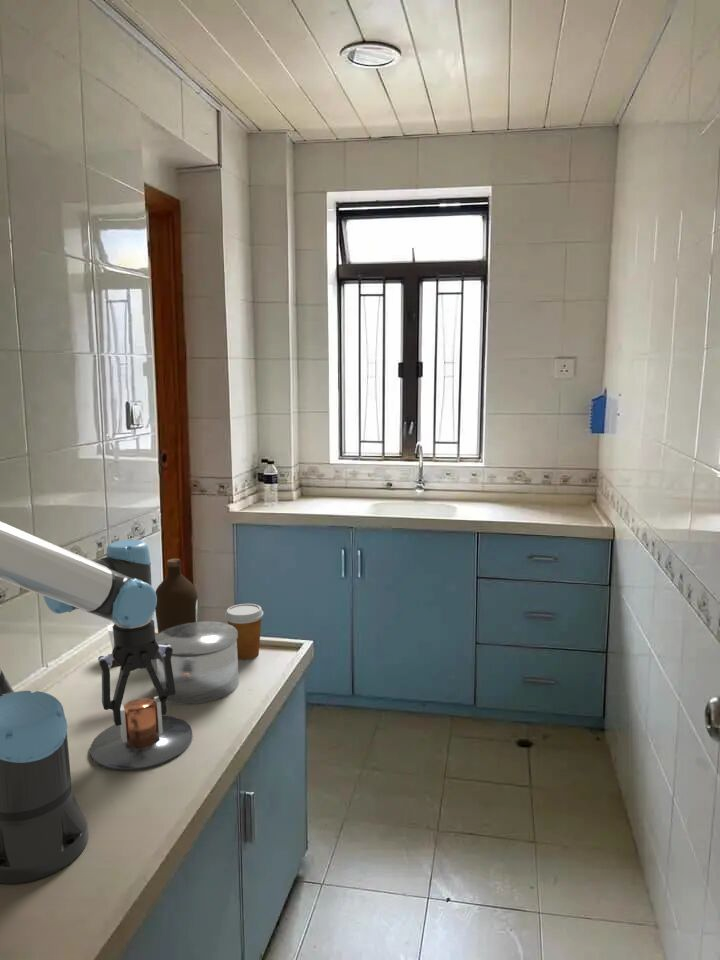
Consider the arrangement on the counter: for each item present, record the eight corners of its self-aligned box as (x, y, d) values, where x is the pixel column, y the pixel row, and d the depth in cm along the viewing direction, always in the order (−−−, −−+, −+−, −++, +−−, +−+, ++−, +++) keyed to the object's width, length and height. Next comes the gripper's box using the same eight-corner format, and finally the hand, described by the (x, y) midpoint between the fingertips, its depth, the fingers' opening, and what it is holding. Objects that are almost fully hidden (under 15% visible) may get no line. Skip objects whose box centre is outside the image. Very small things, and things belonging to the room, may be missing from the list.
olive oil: (164, 667, 174) (157, 568, 170) (153, 652, 183) (146, 558, 179) (206, 657, 179) (201, 561, 175) (193, 643, 188) (187, 552, 184)
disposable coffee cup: (257, 663, 175) (255, 616, 173) (221, 660, 177) (218, 614, 175) (270, 648, 184) (268, 603, 182) (235, 646, 186) (233, 602, 184)
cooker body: (119, 723, 147) (114, 668, 145) (107, 687, 163) (103, 638, 161) (250, 692, 159) (248, 642, 157) (227, 662, 176) (224, 616, 174)
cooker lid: (96, 782, 126) (93, 740, 125) (86, 733, 143) (82, 696, 142) (202, 754, 134) (200, 715, 133) (180, 711, 151) (178, 676, 150)
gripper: (179, 607, 142) (186, 714, 146) (78, 624, 134) (88, 738, 138) (188, 618, 135) (195, 731, 139) (82, 637, 127) (92, 756, 131)
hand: (142, 734), depth 138 cm, fingers closed on cooker lid, 6 cm apart
